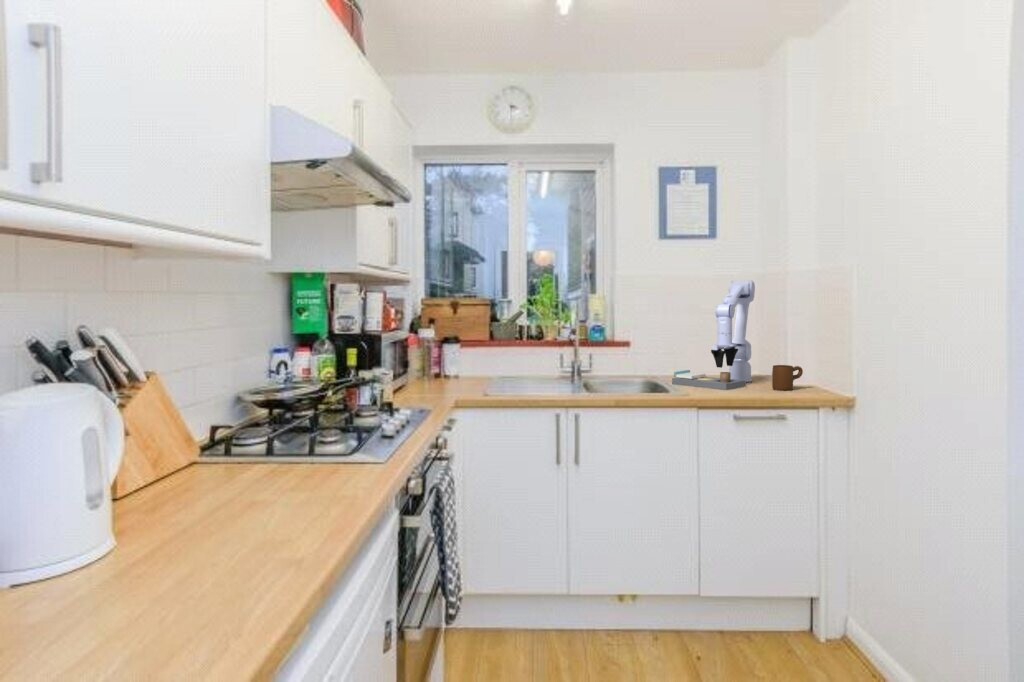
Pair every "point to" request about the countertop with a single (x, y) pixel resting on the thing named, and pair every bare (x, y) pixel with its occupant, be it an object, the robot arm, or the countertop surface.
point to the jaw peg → (725, 376)
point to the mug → (784, 377)
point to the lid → (688, 374)
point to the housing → (709, 383)
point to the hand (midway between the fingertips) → (724, 366)
